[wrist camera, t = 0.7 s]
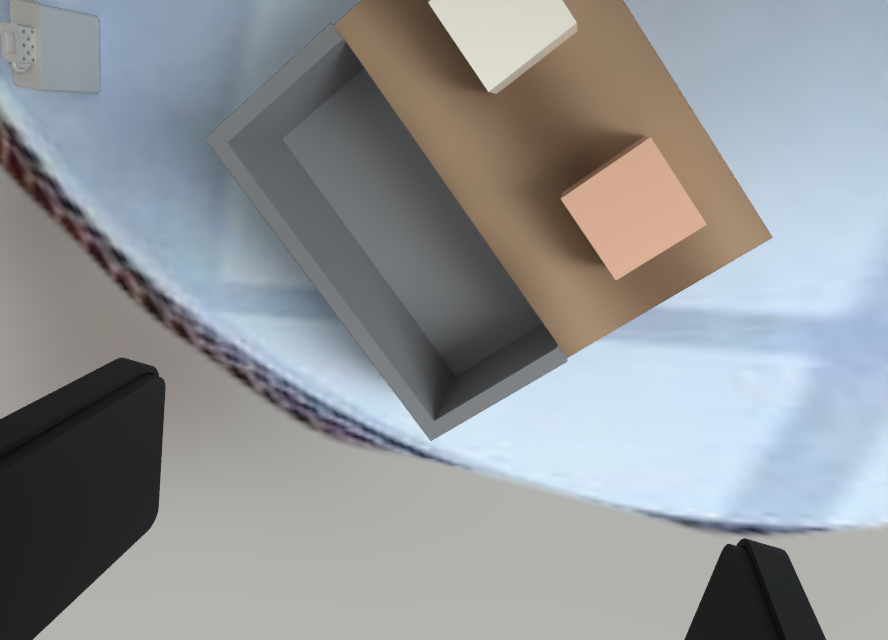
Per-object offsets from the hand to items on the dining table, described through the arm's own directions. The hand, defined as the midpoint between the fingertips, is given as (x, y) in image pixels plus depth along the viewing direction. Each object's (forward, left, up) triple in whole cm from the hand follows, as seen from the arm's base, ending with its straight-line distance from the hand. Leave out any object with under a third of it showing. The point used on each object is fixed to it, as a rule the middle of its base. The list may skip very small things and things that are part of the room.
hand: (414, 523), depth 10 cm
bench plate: (-4, -4, -26) cm, 27 cm away
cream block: (-5, -9, -20) cm, 23 cm away
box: (+5, -4, -26) cm, 27 cm away
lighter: (+14, -24, -26) cm, 38 cm away
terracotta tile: (-5, 0, -20) cm, 21 cm away
